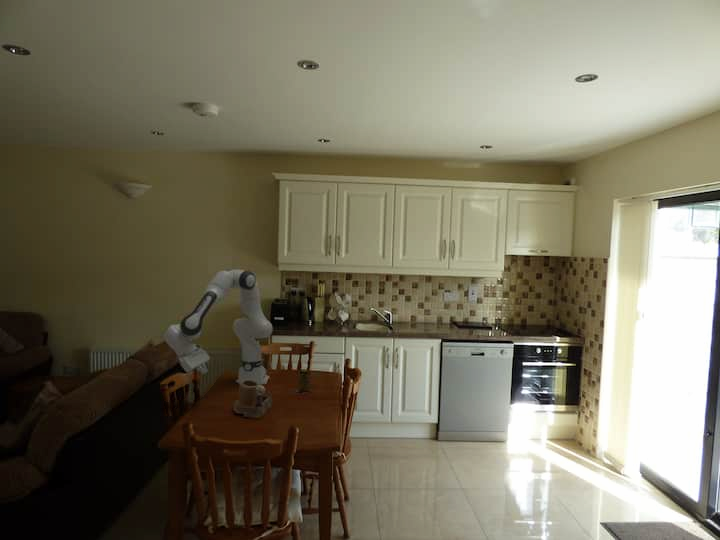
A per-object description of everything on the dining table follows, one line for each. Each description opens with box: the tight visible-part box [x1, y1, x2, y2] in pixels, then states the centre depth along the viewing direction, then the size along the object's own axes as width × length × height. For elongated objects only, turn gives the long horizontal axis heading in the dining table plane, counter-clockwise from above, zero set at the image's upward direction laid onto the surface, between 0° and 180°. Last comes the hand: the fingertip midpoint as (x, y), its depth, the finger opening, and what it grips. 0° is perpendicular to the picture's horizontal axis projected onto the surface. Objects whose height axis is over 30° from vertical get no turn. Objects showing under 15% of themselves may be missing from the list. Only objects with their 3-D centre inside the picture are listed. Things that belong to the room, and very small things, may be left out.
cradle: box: [243, 384, 274, 419], centre depth 224 cm, size 19×10×15 cm, turn 172°
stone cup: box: [233, 380, 259, 414], centre depth 225 cm, size 15×12×15 cm
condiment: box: [294, 369, 310, 395], centre depth 258 cm, size 7×8×12 cm
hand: (205, 372), depth 228 cm, fingers closed
